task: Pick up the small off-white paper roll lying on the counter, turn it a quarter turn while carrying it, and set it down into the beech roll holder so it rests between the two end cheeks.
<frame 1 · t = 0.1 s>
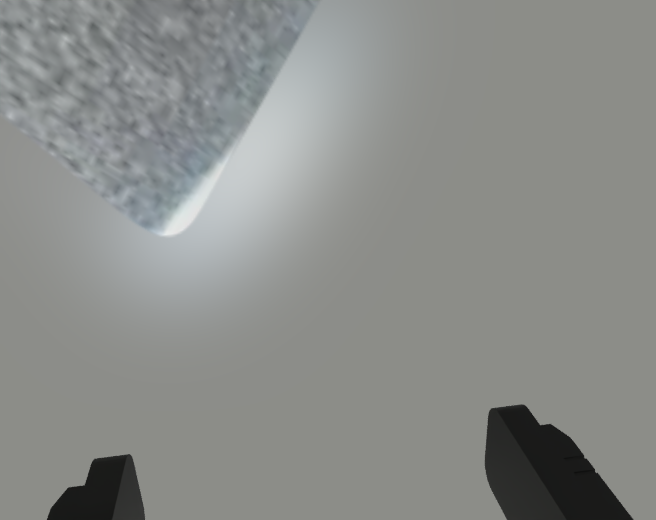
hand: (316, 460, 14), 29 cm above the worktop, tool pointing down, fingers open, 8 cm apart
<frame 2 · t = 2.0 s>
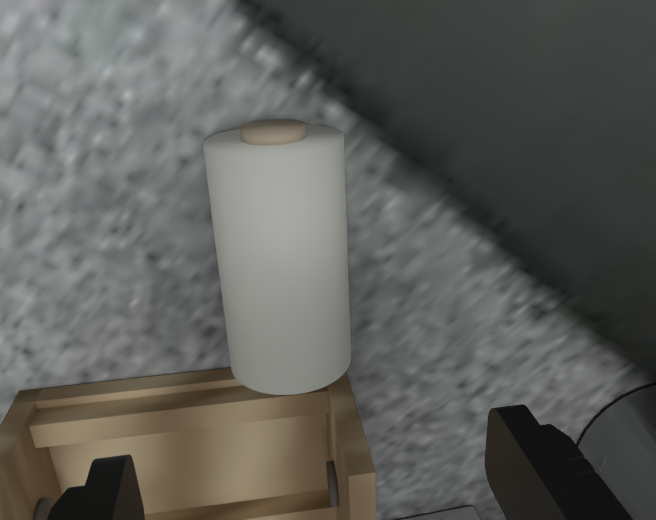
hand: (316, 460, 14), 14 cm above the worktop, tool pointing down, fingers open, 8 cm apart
roll: (283, 257, 24), point 2 cm above the worktop
holder: (197, 447, 30), on the worktop
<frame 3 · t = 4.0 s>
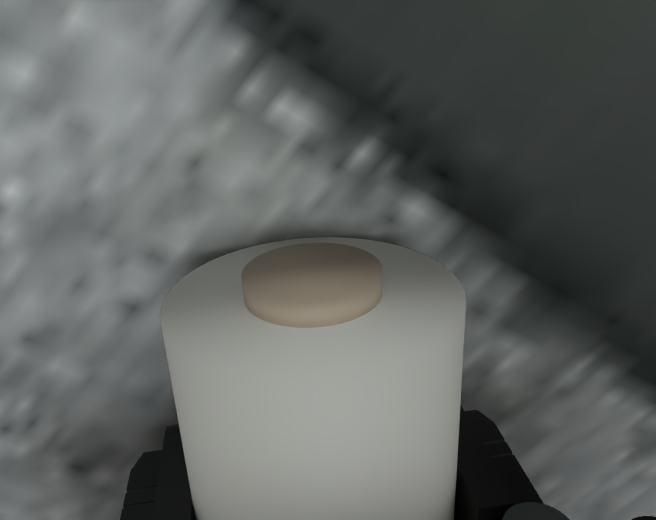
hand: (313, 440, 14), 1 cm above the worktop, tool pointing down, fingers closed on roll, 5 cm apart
roll: (325, 500, 12), point 3 cm above the worktop, touching gripper
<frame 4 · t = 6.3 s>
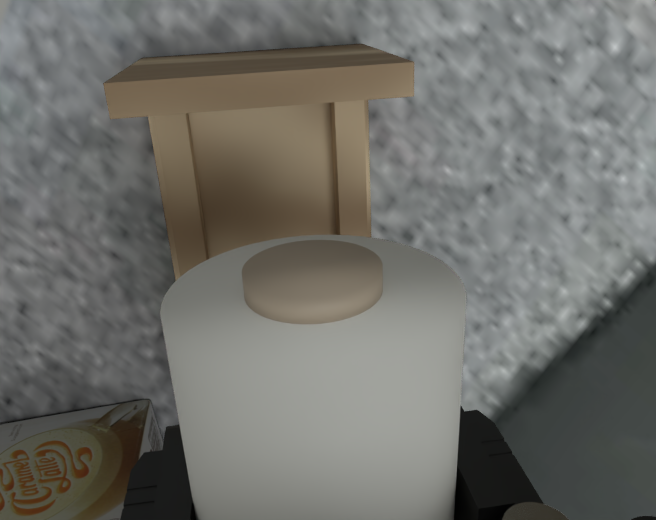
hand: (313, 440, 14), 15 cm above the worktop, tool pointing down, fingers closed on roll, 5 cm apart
coffee box: (80, 456, 32), on the worktop
roll: (325, 498, 12), point 17 cm above the worktop, touching gripper
holder: (270, 222, 28), on the worktop
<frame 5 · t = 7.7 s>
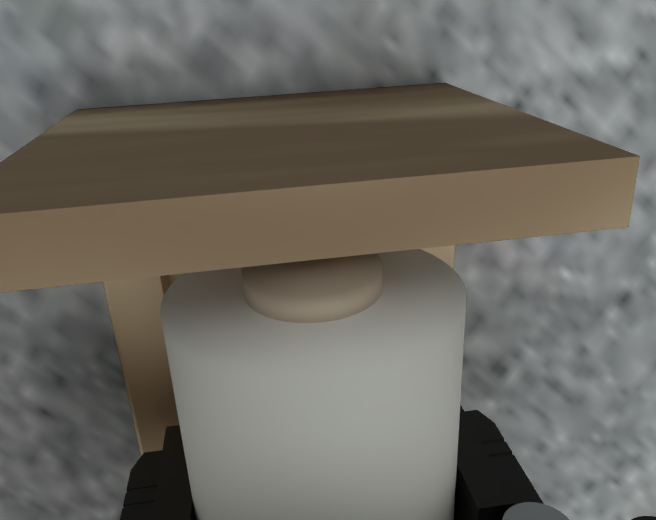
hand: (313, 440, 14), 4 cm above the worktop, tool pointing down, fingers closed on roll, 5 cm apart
roll: (325, 496, 12), point 6 cm above the worktop, touching gripper
holder: (290, 357, 18), on the worktop
when the fingers open (3 cm above the worktop, at t = 8.7 s): roll drops 1 cm, resting on holder.
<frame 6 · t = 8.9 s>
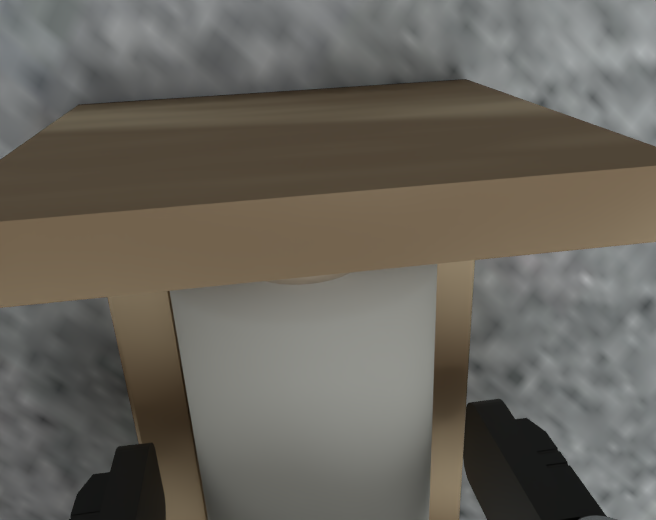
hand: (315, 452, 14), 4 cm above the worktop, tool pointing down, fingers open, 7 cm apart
roll: (315, 449, 14), point 4 cm above the worktop, touching holder
holder: (299, 364, 17), on the worktop
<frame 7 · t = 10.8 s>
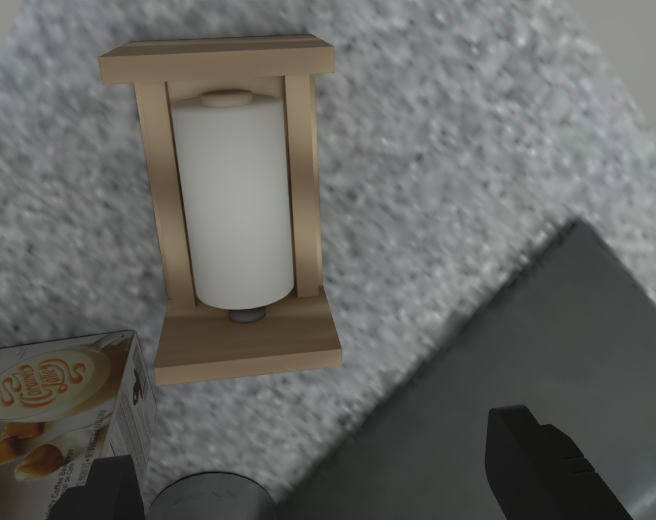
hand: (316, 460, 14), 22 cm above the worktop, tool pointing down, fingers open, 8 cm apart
coffee box: (75, 379, 37), on the worktop
roll: (236, 200, 30), point 4 cm above the worktop, touching holder
holder: (236, 180, 34), on the worktop
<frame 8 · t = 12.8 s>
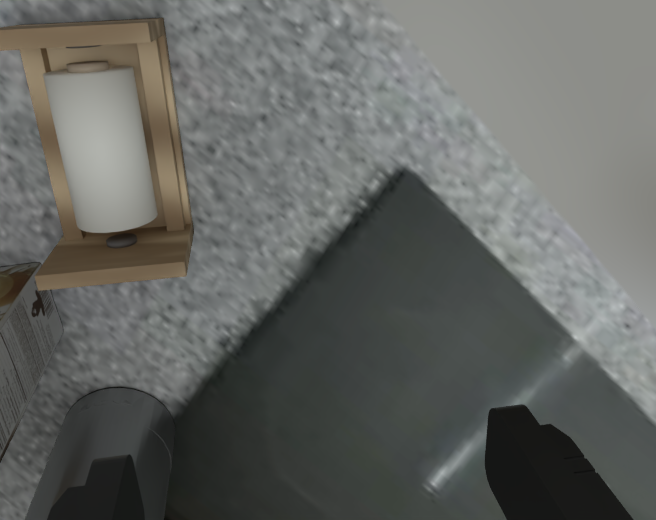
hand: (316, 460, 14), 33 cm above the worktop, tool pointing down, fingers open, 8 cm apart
roll: (104, 148, 39), point 4 cm above the worktop, touching holder
holder: (113, 137, 42), on the worktop
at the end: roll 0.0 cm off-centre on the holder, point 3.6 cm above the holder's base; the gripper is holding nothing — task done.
